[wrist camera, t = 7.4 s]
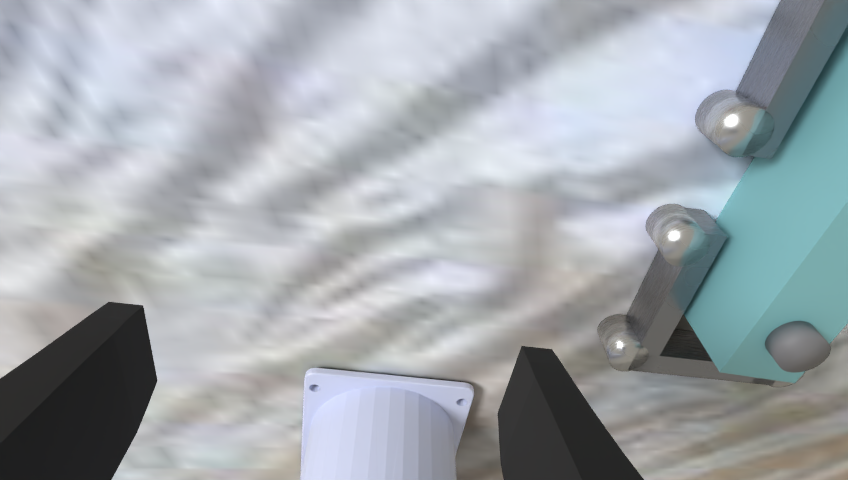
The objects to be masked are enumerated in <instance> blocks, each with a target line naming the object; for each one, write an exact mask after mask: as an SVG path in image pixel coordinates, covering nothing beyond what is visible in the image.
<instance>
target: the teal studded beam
mask: <svg viewBox="0 0 848 480" xmlns="http://www.w3.org/2000/svg"><path fill="white" fill-rule="evenodd" d="M715 223H716V224H717V225H718V227H719V228H720V229H721V230H722V231H723V232H724V233H725V234H726V236H727V238H726V240H725V242H724V243H723V245H722V247H721V249H720V250H719V252H718V254H717V256H716V257H715V259H714V261H713V263H712V264H711V266H710V268H709V270H708V271H707V273H706V275H705V277H704V278H703V280H702V282H701V284H700V286H699V287H698V289H697V291H696V293H695V294H694V296H693V298H692V300H691V301H690V303H689V305H688V307H687V308H686V310H685V312H684V316H685V317H686V319H687V321H688V322H689V324H690V325H691V327H692V329H693V330H694V332H695V333H696V335H697V337H698V338H699V340H700V341H701V343H702V345H703V346H704V348H705V349H706V351H707V353H708V354H709V356H710V358H711V359H712V361H713V362H714V364H715V366H716V367H717V369H718V370H719V372H721V373H728V374H735V375H742V376H749V377H756V378H763V379H769V380H776V381H783V382H790V383H796V381H797V380H798V379H799V378H800V377H801V376H802V375H803V373H804V372H805V371H807V370H810V369H812V368H814V367H816V366H818V365H820V364H821V363H822V362H823V361H824V360H825V359H826V358H827V357H828V356H829V354H830V351H831V347H830V343H831V342H832V340H833V339H834V338H835V337H836V336H837V335H838V334H839V333H840V331H841V330H842V329H843V328H844V327H845V326H846V325H847V323H848V25H847V27H846V29H845V31H844V32H843V34H842V36H841V38H840V39H839V41H838V43H837V45H836V46H835V48H834V50H833V52H832V53H831V55H830V57H829V59H828V60H827V62H826V64H825V66H824V67H823V69H822V71H821V73H820V75H819V76H818V78H817V80H816V82H815V83H814V85H813V87H812V89H811V90H810V92H809V94H808V96H807V97H806V99H805V101H804V103H803V104H802V106H801V108H800V110H799V111H798V113H797V115H796V117H795V118H794V120H793V122H792V124H791V126H790V127H789V129H788V131H787V133H786V134H785V136H784V138H783V140H782V141H781V143H780V145H779V147H778V148H777V150H776V152H775V154H774V155H773V157H772V159H766V158H760V157H754V159H753V160H752V162H751V164H750V165H749V167H748V169H747V170H746V172H745V174H744V175H743V177H742V178H741V180H740V182H739V183H738V185H737V187H736V188H735V190H734V192H733V193H732V195H731V197H730V198H729V200H728V202H727V203H726V205H725V207H724V208H723V210H722V212H721V213H720V215H719V217H718V218H717V220H716V222H715Z"/></svg>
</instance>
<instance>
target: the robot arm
mask: <svg viewBox="0 0 848 480" xmlns="http://www.w3.org/2000/svg"><path fill="white" fill-rule="evenodd" d="M156 383H157V376H156V371H155V366H154V361H153V355H152V350H151V345H150V340H149V334H148V329H147V324H146V319H145V313H144V308H143V306H142V305H133V304H124V303H114V302H108V303H107V304H105V305H104V306H102V307H101V308H99V309H98V310H96V311H95V312H94V313H92V314H91V315H89V316H88V317H87V318H85V319H84V320H83V321H81V322H80V323H78V324H77V325H76V326H74V327H73V328H71V329H70V330H69V331H67V332H66V333H64V334H63V335H62V336H60V337H59V338H57V339H56V340H55V341H53V342H52V343H50V344H49V345H48V346H46V347H45V348H43V349H42V350H41V351H39V352H38V353H36V354H35V355H34V356H32V357H31V358H29V359H28V360H27V361H25V362H24V363H22V364H21V365H19V366H18V367H17V368H15V369H14V370H12V371H11V372H9V373H8V374H6V375H5V376H4V377H2V378H1V379H0V480H111V479H112V477H113V476H114V474H115V472H116V470H117V468H118V466H119V465H120V463H121V461H122V459H123V457H124V455H125V453H126V452H127V450H128V448H129V446H130V444H131V442H132V440H133V439H134V437H135V435H136V433H137V431H138V428H139V426H140V423H141V421H142V419H143V416H144V414H145V411H146V409H147V406H148V404H149V401H150V399H151V396H152V393H153V391H154V388H155V385H156ZM313 384H315V385H313ZM473 398H474V388H473V386H472V385H471V384H469V383H465V382H455V381H445V380H435V379H425V378H415V377H405V376H395V375H385V374H375V373H365V372H355V371H345V370H334V369H324V368H311V369H309V370H308V371H307V372H306V375H305V379H304V403H303V429H302V455H301V477H300V480H457V477H456V461H455V456H456V452H457V449H458V446H459V443H460V440H461V436H462V433H463V430H464V427H465V423H466V420H467V417H468V414H469V410H470V407H471V404H472V401H473ZM498 425H499V443H500V457H501V466H502V472H503V478H504V480H644V479H643V478H642V477H641V475H640V474H639V473H638V472H637V470H636V469H635V468H634V466H633V465H632V464H631V462H630V461H629V460H628V458H627V457H626V456H625V454H624V453H623V452H622V450H621V449H620V447H619V446H618V445H617V443H616V442H615V441H614V439H613V438H612V436H611V435H610V434H609V432H608V431H607V430H606V428H605V427H604V425H603V424H602V423H601V421H600V420H599V418H598V417H597V415H596V414H595V413H594V411H593V410H592V408H591V407H590V405H589V404H588V402H587V401H586V399H585V398H584V396H583V395H582V393H581V392H580V390H579V389H578V387H577V386H576V384H575V383H574V381H573V380H572V378H571V377H570V375H569V374H568V372H567V371H566V369H565V368H564V366H563V365H562V363H561V362H560V360H559V359H558V357H557V356H556V355H555V353H554V352H553V350H552V349H544V348H534V347H525V346H522V347H521V350H520V353H519V355H518V358H517V361H516V364H515V367H514V369H513V372H512V375H511V378H510V381H509V383H508V386H507V389H506V392H505V395H504V397H503V400H502V403H501V406H500V409H499V411H498Z"/></svg>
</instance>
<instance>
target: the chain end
mask: <svg viewBox="0 0 848 480" xmlns="http://www.w3.org/2000/svg"><path fill="white" fill-rule="evenodd" d="M646 231H647V233H648V234H649V236H650V237H651V239H652V240H653V242H654V243H655V245H656V246H657V248H658V249H659V250H658V252H657V254H656V256H655V258H654V260H653V262H652V264H651V266H650V268H649V270H648V272H647V274H646V276H645V279H644V281H643V283H642V285H641V287H640V289H639V291H638V293H637V295H636V297H635V299H634V301H633V303H632V305H631V307H630V309H629V311H628V313H627V315H622V314H617V315H612V316H609V317H607V318H606V319H604V320H603V321H602V322H601V323H600V324H599V326H598V334H599V337H600V339H601V342H602V344H603V347H604V349H605V352H606V354H607V357H608V359H609V362H610V364H611V366H612V367H613V368H614V369H616V370H619V371H642V372H651V373H661V374H670V375H680V376H689V377H699V378H709V379H718V380H728V381H737V382H747V383H756V384H766V385H770V386H772V387H785V386H788V385H791V384H793V383H790V382H783V381H776V380H769V379H763V378H756V377H749V376H742V375H735V374H728V373H721V372H719V370H718V369H717V367H716V366H715V364H714V362H713V361H712V359H711V358H710V356H709V354H708V353H707V351H706V349H705V348H704V346H703V345H702V343H701V341H700V340H699V338H698V337H697V335H696V333H695V332H694V331H685V330H676V329H675V328H676V326H677V324H678V322H679V321H680V319H681V317H682V315H683V314H684V312H685V310H686V308H687V307H688V305H689V303H690V301H691V300H692V298H693V296H694V294H695V293H696V291H697V289H698V287H699V286H700V284H701V282H702V280H703V278H704V277H705V275H706V273H707V271H708V270H709V268H710V266H711V264H712V263H713V261H714V259H715V257H716V256H717V254H718V252H719V250H720V249H721V247H722V245H723V243H724V242H725V240H726V238H727V236H726V234H725V233H724V232H723V231H722V230H721V229H720V228H719V227H718V225H717V224H716V223H715V222H714V221H713V220H712V219H711V217H710V216H709V215H708V214H707V213H706V212H705V211H704V210H697V209H690V208H684V207H682V206H680V205H677V204H667V205H664V206H661V207H659V208H657V209H656V210H654V211H653V212H652V213H651V214H650V216H649V217H648V219H647V221H646ZM804 373H805V372H804ZM804 373H803V375H804ZM803 375H802V376H803ZM802 376H801V377H800V378H799V379H801V378H802ZM799 379H798V380H799ZM798 380H797V381H798ZM797 381H796V382H797Z"/></svg>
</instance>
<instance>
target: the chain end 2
mask: <svg viewBox="0 0 848 480" xmlns="http://www.w3.org/2000/svg"><path fill="white" fill-rule="evenodd" d="M847 25H848V0H781V1H780V3H779V5H778V7H777V9H776V11H775V13H774V15H773V17H772V19H771V21H770V23H769V25H768V27H767V29H766V31H765V33H764V35H763V37H762V40H761V42H760V44H759V46H758V48H757V50H756V52H755V54H754V56H753V58H752V60H751V62H750V64H749V66H748V68H747V70H746V72H745V74H744V76H743V78H742V80H741V82H740V84H739V87H738V89H737V91H733V90H721V91H718V92H715V93H713V94H711V95H710V96H708V97H707V98H706V99H705V100H704V101H703V102H702V103H701V104H700V106H699V108H698V109H697V112H696V116H695V123H696V126H697V128H698V129H699V131H701V132H702V133H703V134H704V135H705V136H706V137H708V138H709V139H710V140H711V141H712V142H713V143H715V144H716V145H717V146H718V147H719V148H720V149H722V150H723V151H724V152H725V153H726V154H728V155H730V156H733V157H745V156H753V157H760V158H766V159H772V157H773V155H774V154H775V152H776V150H777V148H778V147H779V145H780V143H781V141H782V140H783V138H784V136H785V134H786V133H787V131H788V129H789V127H790V126H791V124H792V122H793V120H794V118H795V117H796V115H797V113H798V111H799V110H800V108H801V106H802V104H803V103H804V101H805V99H806V97H807V96H808V94H809V92H810V90H811V89H812V87H813V85H814V83H815V82H816V80H817V78H818V76H819V75H820V73H821V71H822V69H823V67H824V66H825V64H826V62H827V60H828V59H829V57H830V55H831V53H832V52H833V50H834V48H835V46H836V45H837V43H838V41H839V39H840V38H841V36H842V34H843V32H844V31H845V29H846V27H847Z"/></svg>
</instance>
